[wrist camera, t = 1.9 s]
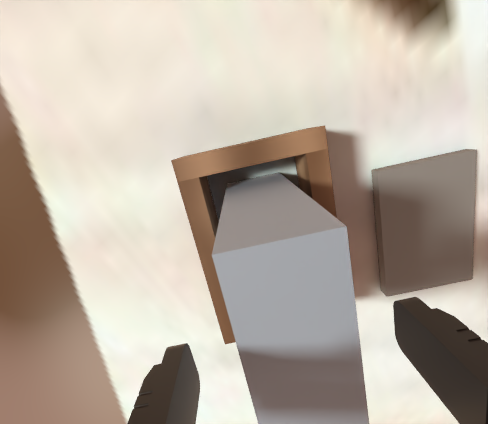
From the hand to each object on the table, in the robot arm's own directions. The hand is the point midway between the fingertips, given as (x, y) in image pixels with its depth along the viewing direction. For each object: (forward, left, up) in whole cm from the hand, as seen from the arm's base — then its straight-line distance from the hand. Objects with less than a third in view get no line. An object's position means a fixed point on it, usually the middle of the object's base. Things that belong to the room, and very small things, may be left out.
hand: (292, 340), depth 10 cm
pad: (-14, +3, -14) cm, 20 cm away
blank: (0, 0, -14) cm, 14 cm away
